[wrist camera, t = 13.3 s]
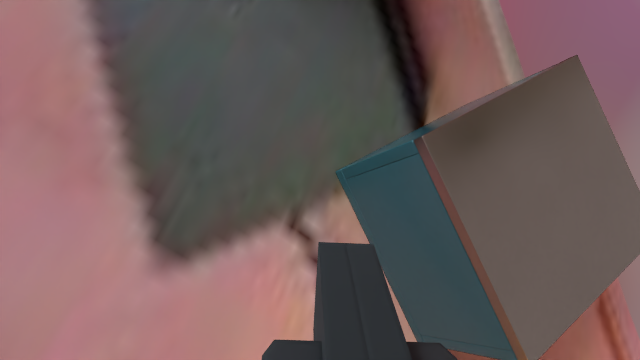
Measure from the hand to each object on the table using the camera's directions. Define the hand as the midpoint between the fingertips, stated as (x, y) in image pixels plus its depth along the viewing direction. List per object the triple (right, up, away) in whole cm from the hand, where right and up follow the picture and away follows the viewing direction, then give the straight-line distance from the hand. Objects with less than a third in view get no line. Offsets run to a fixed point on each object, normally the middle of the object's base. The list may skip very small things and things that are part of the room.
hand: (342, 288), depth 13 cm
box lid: (+13, +2, +16) cm, 21 cm away
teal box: (+9, 0, +24) cm, 25 cm away
